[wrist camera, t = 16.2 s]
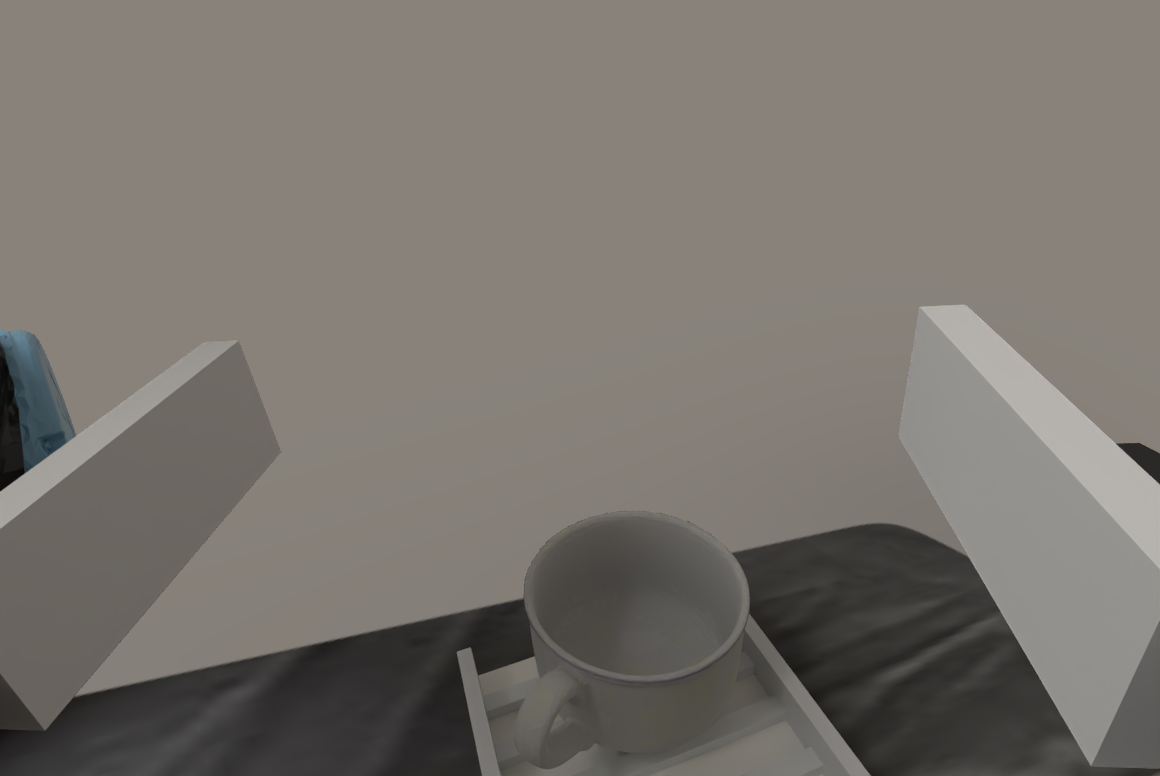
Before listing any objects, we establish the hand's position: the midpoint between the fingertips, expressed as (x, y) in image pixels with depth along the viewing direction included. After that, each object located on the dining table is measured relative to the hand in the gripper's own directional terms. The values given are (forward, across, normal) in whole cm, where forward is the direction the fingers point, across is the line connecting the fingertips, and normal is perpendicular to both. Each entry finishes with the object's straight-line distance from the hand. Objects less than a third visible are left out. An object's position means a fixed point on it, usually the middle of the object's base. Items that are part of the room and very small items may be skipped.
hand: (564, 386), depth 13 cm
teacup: (+11, -1, -26) cm, 28 cm away
